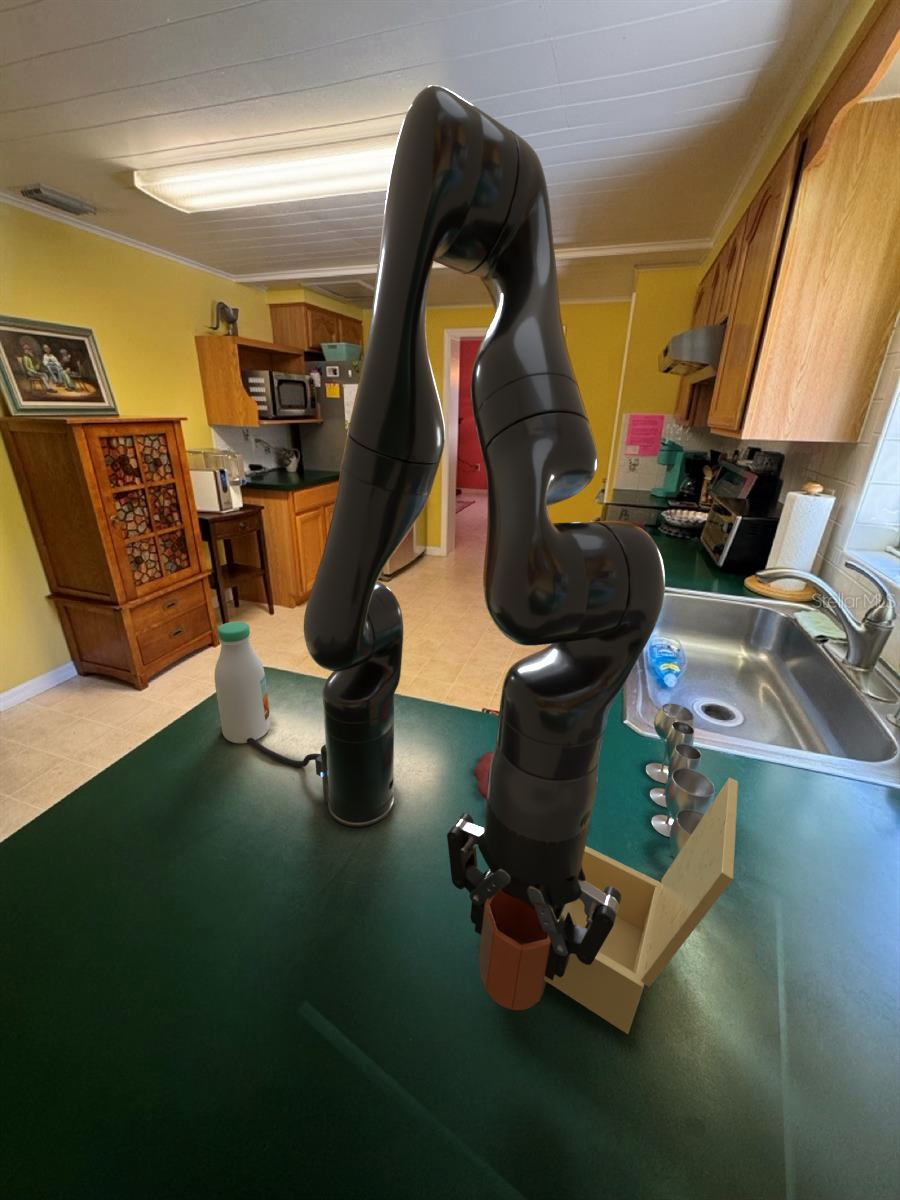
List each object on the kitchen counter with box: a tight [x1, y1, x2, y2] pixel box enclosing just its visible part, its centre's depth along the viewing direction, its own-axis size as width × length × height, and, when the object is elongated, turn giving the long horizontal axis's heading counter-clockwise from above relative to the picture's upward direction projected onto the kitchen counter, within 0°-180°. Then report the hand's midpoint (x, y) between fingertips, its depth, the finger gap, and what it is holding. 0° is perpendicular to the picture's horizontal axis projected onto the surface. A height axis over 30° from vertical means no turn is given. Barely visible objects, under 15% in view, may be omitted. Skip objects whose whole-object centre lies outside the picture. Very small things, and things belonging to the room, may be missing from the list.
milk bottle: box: [214, 621, 271, 744], centre depth 78 cm, size 8×8×20 cm
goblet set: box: [645, 703, 716, 858], centre depth 65 cm, size 28×6×13 cm, turn 161°
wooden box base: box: [546, 845, 661, 1035], centre depth 50 cm, size 15×12×8 cm
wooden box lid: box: [641, 777, 739, 988], centre depth 42 cm, size 16×12×1 cm
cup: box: [478, 889, 551, 1011], centre depth 40 cm, size 6×6×8 cm
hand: (516, 945), depth 40 cm, fingers closed on cup, 6 cm apart
